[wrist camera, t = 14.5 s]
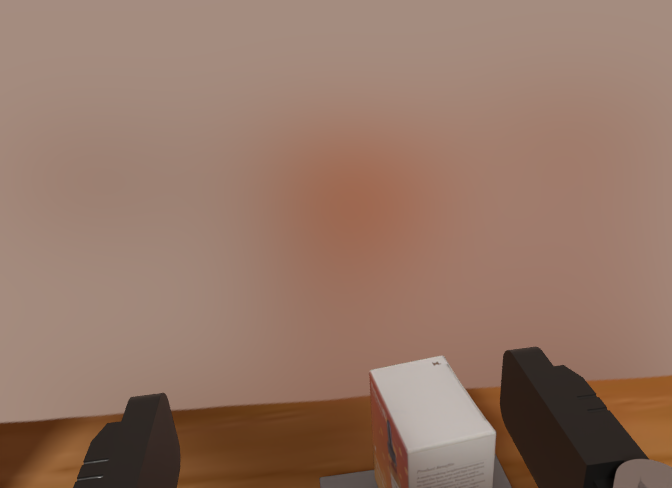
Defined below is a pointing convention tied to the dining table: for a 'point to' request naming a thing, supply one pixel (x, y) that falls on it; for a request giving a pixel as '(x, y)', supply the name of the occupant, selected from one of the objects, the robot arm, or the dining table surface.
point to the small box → (428, 429)
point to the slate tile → (364, 484)
